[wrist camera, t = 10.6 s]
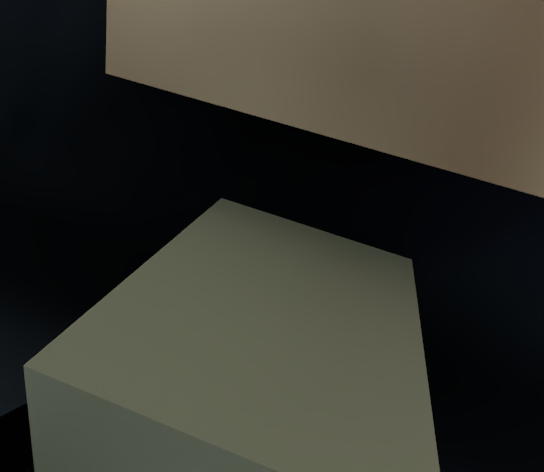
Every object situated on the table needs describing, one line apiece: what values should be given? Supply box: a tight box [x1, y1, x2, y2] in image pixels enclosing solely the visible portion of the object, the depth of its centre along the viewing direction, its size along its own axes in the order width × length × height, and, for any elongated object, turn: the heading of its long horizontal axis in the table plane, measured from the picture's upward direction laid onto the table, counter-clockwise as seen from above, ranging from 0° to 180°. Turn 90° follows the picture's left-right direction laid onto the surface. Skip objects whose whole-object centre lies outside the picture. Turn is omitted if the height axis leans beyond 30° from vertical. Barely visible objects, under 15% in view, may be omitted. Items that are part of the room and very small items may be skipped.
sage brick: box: [23, 198, 440, 472], centre depth 7 cm, size 7×4×5 cm, turn 168°
